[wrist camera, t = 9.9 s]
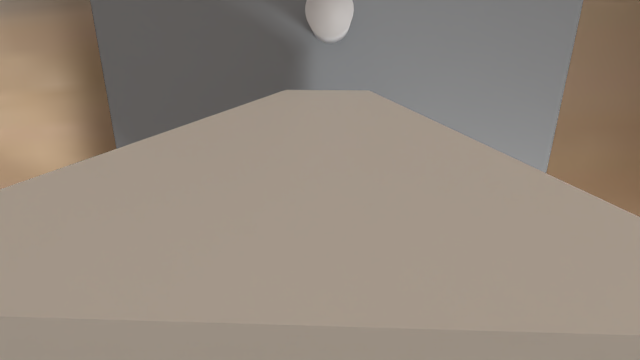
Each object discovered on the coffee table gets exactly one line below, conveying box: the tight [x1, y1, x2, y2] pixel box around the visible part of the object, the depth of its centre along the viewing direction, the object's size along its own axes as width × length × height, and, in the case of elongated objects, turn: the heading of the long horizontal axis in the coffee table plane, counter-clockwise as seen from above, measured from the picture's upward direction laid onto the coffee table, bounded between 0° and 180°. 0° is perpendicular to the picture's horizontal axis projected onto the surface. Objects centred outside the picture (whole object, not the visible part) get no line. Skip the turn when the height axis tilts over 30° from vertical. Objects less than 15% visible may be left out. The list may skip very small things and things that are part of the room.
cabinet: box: [90, 0, 583, 173], centre depth 19 cm, size 21×17×11 cm
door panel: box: [0, 90, 640, 360], centre depth 8 cm, size 3×10×12 cm, turn 0°
